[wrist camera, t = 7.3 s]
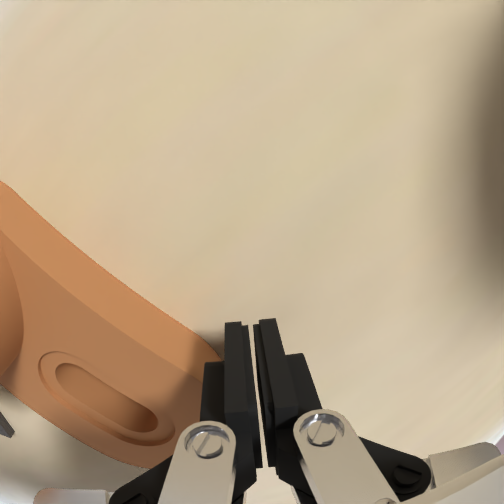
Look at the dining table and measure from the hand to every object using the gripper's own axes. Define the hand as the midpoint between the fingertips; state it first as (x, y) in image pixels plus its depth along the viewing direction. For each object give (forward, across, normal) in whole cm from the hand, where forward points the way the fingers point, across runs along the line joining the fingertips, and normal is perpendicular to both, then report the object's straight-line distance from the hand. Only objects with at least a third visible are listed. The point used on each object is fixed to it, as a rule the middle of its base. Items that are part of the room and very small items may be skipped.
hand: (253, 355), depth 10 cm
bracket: (+3, +9, 0) cm, 9 cm away
